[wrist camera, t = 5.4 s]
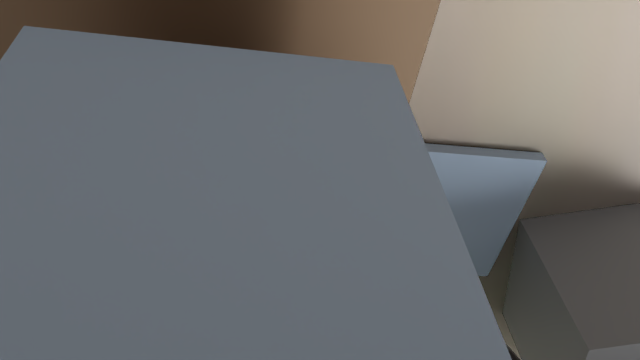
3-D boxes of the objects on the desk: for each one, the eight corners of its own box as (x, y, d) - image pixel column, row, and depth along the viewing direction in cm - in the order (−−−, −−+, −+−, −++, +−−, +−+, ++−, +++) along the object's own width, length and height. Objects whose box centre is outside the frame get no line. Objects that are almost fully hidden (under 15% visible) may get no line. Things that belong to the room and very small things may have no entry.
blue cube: (393, 64, 8) (516, 370, 5) (332, 288, 11) (375, 583, 8) (24, 26, 7) (-210, 364, 4) (65, 280, 11) (-39, 609, 7)
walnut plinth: (397, -96, 12) (449, -27, 9) (336, 164, 16) (357, 271, 13) (42, -152, 11) (-37, -94, 8) (77, 146, 15) (35, 259, 12)
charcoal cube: (668, 197, 19) (777, 323, 15) (629, 293, 22) (710, 417, 18) (519, 218, 19) (589, 350, 15) (501, 311, 22) (555, 440, 18)
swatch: (541, 152, 17) (547, 160, 17) (483, 267, 20) (487, 276, 20) (378, 139, 16) (381, 148, 16) (343, 261, 19) (345, 270, 19)
